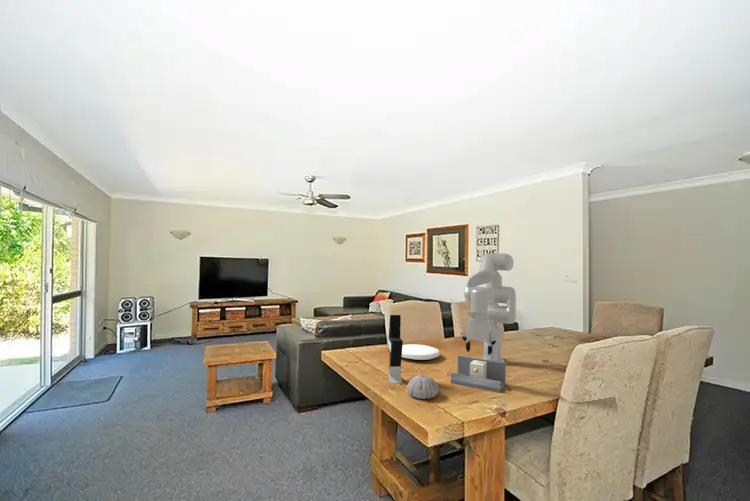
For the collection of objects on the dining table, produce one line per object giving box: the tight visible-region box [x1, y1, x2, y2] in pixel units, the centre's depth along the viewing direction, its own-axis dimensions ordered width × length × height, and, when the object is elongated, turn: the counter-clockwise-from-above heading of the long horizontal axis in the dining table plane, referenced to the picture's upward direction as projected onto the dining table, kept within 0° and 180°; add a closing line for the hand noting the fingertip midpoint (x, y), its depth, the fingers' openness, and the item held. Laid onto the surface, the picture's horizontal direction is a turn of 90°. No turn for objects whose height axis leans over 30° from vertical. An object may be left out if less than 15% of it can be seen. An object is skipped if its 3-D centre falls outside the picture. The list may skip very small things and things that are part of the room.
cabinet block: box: [470, 360, 487, 379], centre depth 168 cm, size 8×6×8 cm
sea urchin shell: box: [406, 374, 440, 400], centre depth 153 cm, size 13×14×8 cm
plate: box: [402, 343, 441, 361], centre depth 213 cm, size 28×6×27 cm
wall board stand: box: [450, 354, 507, 394], centre depth 168 cm, size 12×22×10 cm, turn 59°
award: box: [387, 314, 404, 384], centre depth 173 cm, size 15×5×30 cm, turn 5°
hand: (478, 352), depth 169 cm, fingers open, 9 cm apart
